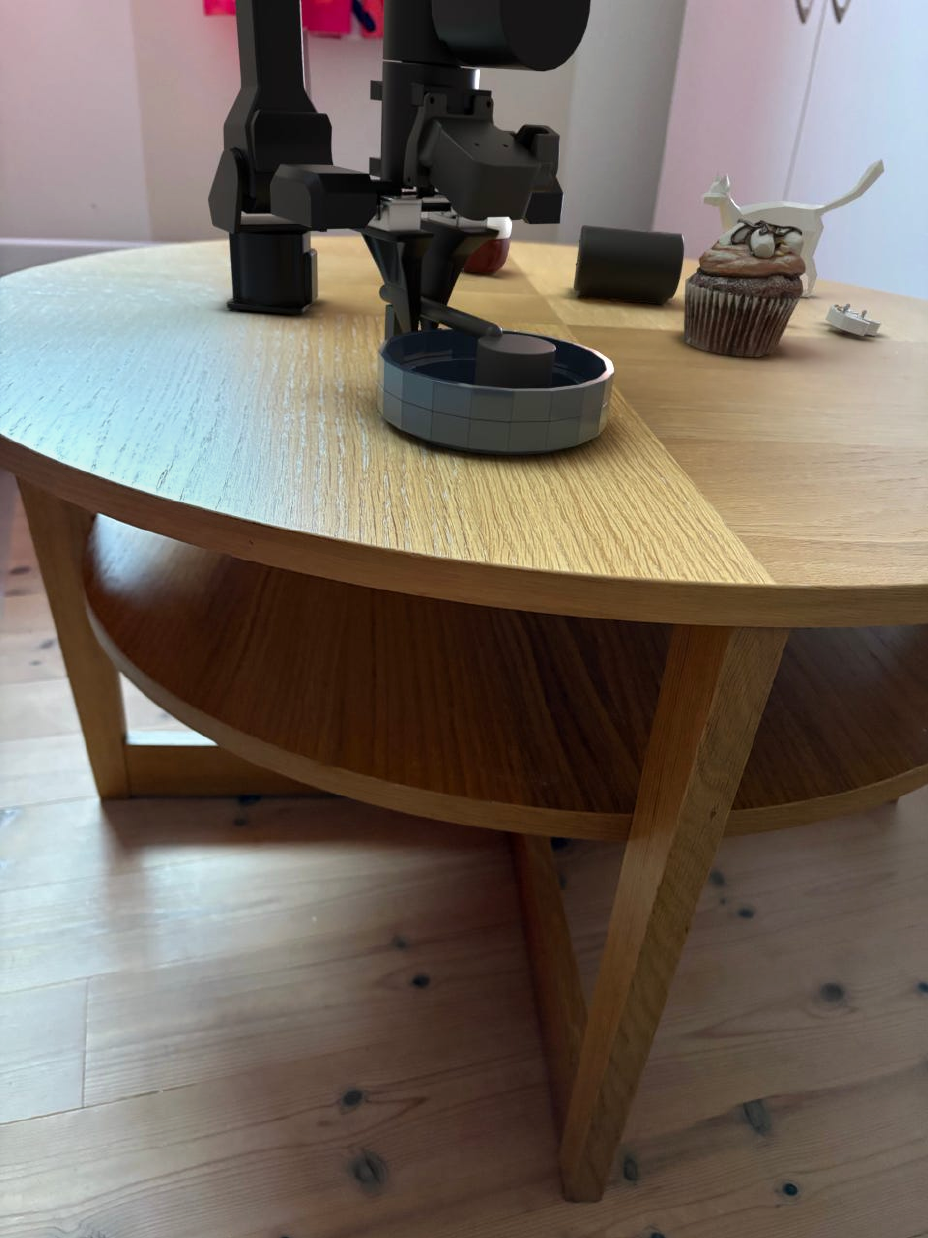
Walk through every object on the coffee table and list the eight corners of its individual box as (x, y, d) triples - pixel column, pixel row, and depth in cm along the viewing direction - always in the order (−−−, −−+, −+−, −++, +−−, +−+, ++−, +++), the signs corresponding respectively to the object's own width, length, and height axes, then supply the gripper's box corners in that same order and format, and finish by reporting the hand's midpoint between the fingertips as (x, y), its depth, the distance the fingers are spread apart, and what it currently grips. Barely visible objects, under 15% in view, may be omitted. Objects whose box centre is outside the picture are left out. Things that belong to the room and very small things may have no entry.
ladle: (353, 344, 63) (354, 283, 60) (408, 339, 65) (410, 280, 63) (504, 418, 51) (512, 345, 49) (563, 408, 54) (573, 339, 51)
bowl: (361, 449, 49) (361, 377, 47) (393, 379, 61) (394, 319, 59) (612, 471, 49) (624, 400, 47) (595, 396, 61) (604, 337, 59)
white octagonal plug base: (888, 340, 83) (897, 312, 82) (775, 338, 81) (782, 308, 80) (856, 325, 88) (864, 298, 86) (748, 322, 86) (755, 294, 84)
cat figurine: (678, 284, 101) (704, 144, 94) (838, 291, 104) (875, 157, 97) (692, 292, 97) (720, 147, 90) (858, 299, 101) (898, 160, 93)
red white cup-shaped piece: (509, 280, 96) (520, 155, 90) (451, 276, 95) (458, 150, 89) (504, 265, 104) (514, 149, 98) (451, 261, 104) (458, 145, 97)
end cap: (574, 302, 88) (583, 229, 84) (569, 288, 94) (578, 219, 90) (674, 311, 88) (688, 237, 84) (663, 296, 94) (676, 227, 90)
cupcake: (710, 326, 83) (735, 209, 78) (806, 350, 77) (840, 226, 72) (651, 338, 77) (674, 213, 72) (751, 366, 71) (782, 231, 66)
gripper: (364, 56, 41) (360, 385, 50) (641, 82, 52) (601, 353, 60) (260, 49, 49) (271, 337, 57) (520, 74, 59) (498, 316, 67)
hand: (419, 336), depth 60 cm, fingers closed on ladle
